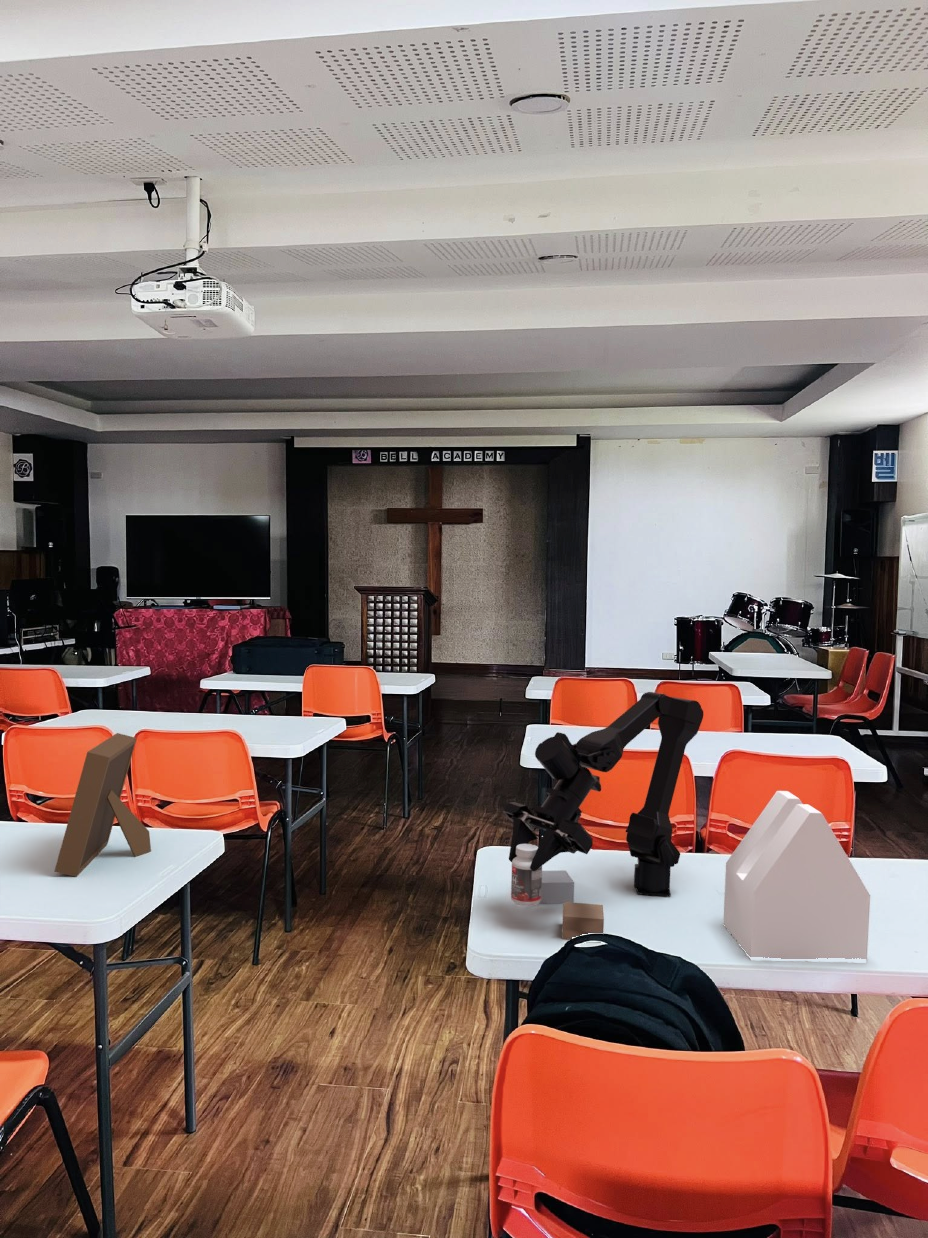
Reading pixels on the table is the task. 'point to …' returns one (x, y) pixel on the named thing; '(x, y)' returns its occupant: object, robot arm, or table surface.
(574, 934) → the walnut block
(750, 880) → the pinkish house shaped block
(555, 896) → the grey block
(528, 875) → the pill bottle
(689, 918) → the table surface
